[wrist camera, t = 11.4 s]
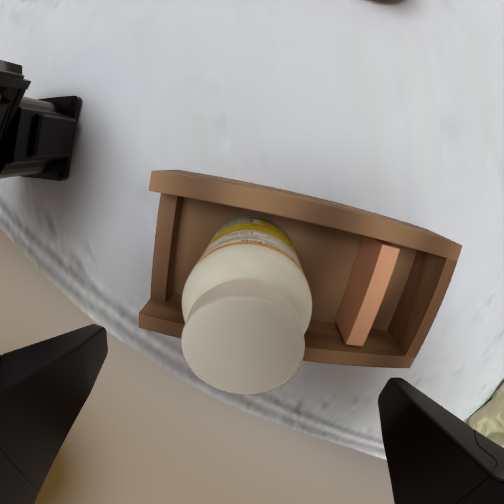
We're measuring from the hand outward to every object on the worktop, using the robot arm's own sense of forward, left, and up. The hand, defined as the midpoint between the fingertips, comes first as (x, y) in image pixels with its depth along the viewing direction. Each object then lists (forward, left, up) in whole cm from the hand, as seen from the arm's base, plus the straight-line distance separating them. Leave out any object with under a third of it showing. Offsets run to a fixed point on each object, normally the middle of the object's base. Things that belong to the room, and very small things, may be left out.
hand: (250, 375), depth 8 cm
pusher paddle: (+7, 0, -10) cm, 13 cm away
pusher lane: (+3, 0, -12) cm, 12 cm away
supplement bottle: (0, 0, -11) cm, 11 cm away
